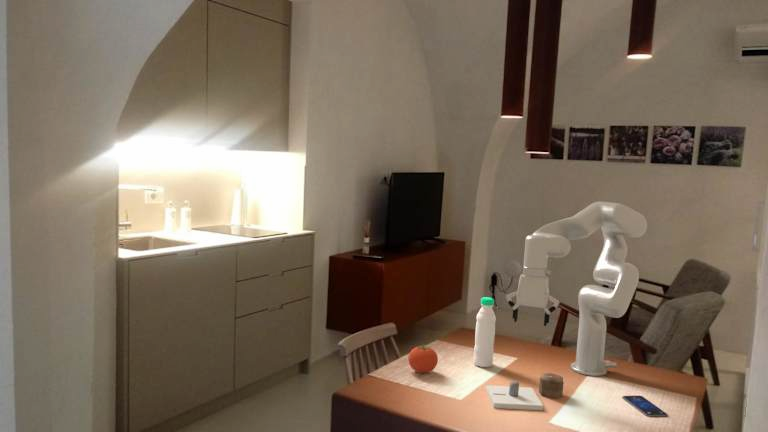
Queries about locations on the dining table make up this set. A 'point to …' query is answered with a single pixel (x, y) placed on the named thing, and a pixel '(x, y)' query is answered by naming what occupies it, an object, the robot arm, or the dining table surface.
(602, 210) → the robot arm
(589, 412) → the dining table surface
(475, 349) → the water bottle
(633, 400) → the smartphone
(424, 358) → the tomato
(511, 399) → the plate
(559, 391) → the brown short cylinder
